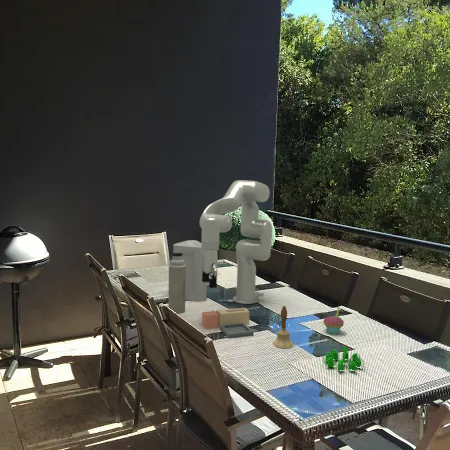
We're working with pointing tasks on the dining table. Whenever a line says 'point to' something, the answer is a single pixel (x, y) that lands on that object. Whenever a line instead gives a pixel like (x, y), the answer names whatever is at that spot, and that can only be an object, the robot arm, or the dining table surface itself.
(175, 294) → the thermos bottle
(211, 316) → the stub
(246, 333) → the tray
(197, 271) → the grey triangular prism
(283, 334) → the hand bell
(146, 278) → the dining table surface
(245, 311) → the tan slotted block
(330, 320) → the cupcake
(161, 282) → the dining table surface
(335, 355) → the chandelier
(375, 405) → the dining table surface
